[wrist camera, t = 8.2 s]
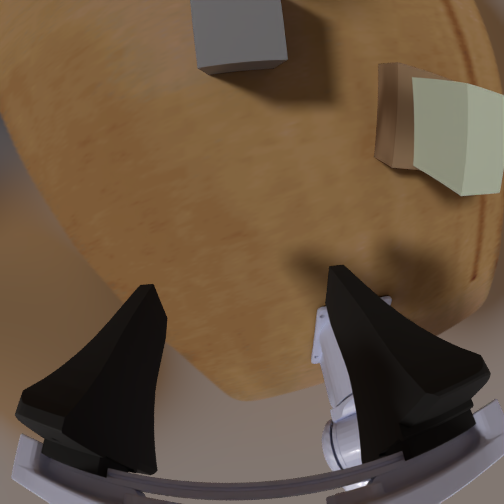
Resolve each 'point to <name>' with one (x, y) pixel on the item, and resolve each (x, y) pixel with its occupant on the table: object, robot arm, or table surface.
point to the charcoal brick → (238, 35)
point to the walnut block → (397, 113)
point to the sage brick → (459, 135)
